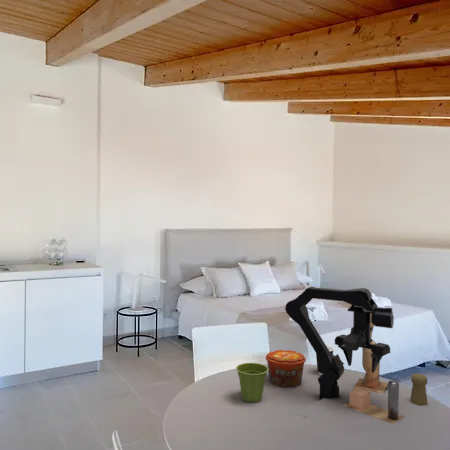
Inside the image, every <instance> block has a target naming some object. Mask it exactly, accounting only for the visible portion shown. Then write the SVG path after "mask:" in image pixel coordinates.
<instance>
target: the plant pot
mask: <svg viewBox="0 0 450 450" xmlns="http://www.w3.org/2000/svg"><path fill="white" fill-rule="evenodd" d="M235 370H236V371H237V375H238V378H239V386H240V394H241V398H242V400H243V401H245V402H248V403H258V402H260V401H261V400H262V399H263V394H264V388H265V382H266V377H267V375H268V374H267V373H268V370H269V368H268V365H265V364H262V363H258V362H244V363H240V364H238V365H237V366H236V367H235Z"/></svg>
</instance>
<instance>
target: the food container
mask: <svg viewBox="0 0 450 450" xmlns="http://www.w3.org/2000/svg"><path fill="white" fill-rule="evenodd" d="M306 360H307V359H306V357H305V355H304V354H302V353H301V352H296V351H295V350H292V349H291V350H289V349H287V350H284V349H277V350H274V351H269V352H268V353H267V354H266V355H265V361H266V362H267V367H268V368H269V370H268V372H267V373H268V381H269V383H270V384H272V385H273V386H276V385H277V386H276V387H279V386H280V387H281V388H296V387H298V386H301V385H302V380H303V375H304V374H303V372H304V366H305V362H306ZM280 387H279V388H280Z"/></svg>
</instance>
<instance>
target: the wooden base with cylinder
mask: <svg viewBox="0 0 450 450" xmlns="http://www.w3.org/2000/svg"><path fill="white" fill-rule="evenodd" d="M387 383H388V387H387V388H388V389H387V391H388V392H387V409H386V408H382V407H380V406H376V405H374V404H371V403H370V407H368V408H366V409H364V410H360V409H357V408H354V407H352V406H349V403H350V401H349V402H348V403H346V404H344V405H342V406H343V407H346V408H348V409H352V410H354V411H357V412H359V413H362V414H365V415H368V416H370V417H373V418H376V419H379V420H381V421H383V422H386V423H389V424H393V425H394V424H395V423H397V422H399V421H400V420H401V419H404V418H405V415H402V414H400V413H399V412H400V411H399V407H400V405H399V404H400V403H399V402H400V401H399V400H400V399H399V398H400V397H399V396H400V383H399V381H396V380H393V379H392V380H391V379H390V380H388V382H387Z"/></svg>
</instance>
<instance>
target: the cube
mask: <svg viewBox="0 0 450 450" xmlns="http://www.w3.org/2000/svg"><path fill="white" fill-rule="evenodd" d="M349 402H350V403H349ZM349 402H348V403H349V406H352V407H354V408H357V409H360V410H364V409H366V408H368V407H370V404H371V391H366V390H363V389H360V388H356V389H355V388H354V389H352V390H350V391H349Z"/></svg>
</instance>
